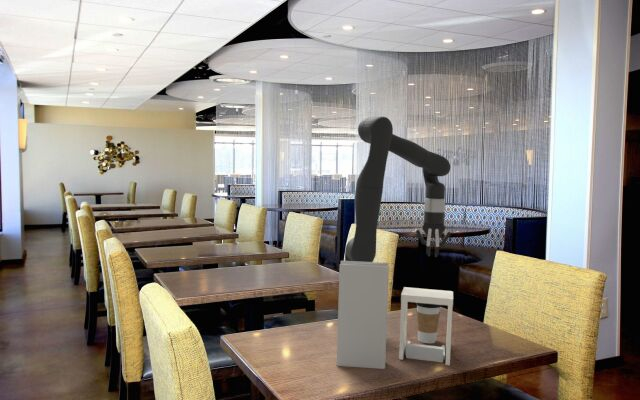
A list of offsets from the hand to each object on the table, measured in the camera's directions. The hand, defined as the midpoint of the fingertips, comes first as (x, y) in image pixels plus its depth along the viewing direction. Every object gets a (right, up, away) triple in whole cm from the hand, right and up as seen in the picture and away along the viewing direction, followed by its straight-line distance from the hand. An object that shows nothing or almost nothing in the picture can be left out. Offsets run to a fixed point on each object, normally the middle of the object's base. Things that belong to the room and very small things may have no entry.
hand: (432, 255), depth 194 cm
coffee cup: (-6, -27, -20) cm, 34 cm away
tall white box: (-30, -27, -42) cm, 59 cm away
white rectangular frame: (-10, -27, -34) cm, 44 cm away
